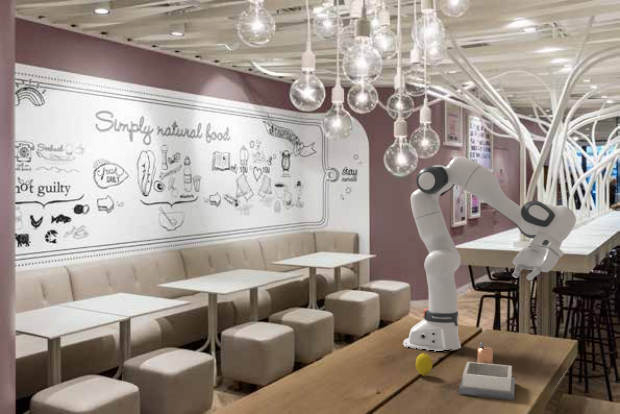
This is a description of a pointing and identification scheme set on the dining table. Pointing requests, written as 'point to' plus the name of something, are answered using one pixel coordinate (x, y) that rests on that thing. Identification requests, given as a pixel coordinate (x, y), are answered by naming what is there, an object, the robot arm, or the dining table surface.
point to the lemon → (424, 364)
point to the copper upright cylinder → (485, 354)
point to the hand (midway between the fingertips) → (521, 278)
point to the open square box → (488, 381)
